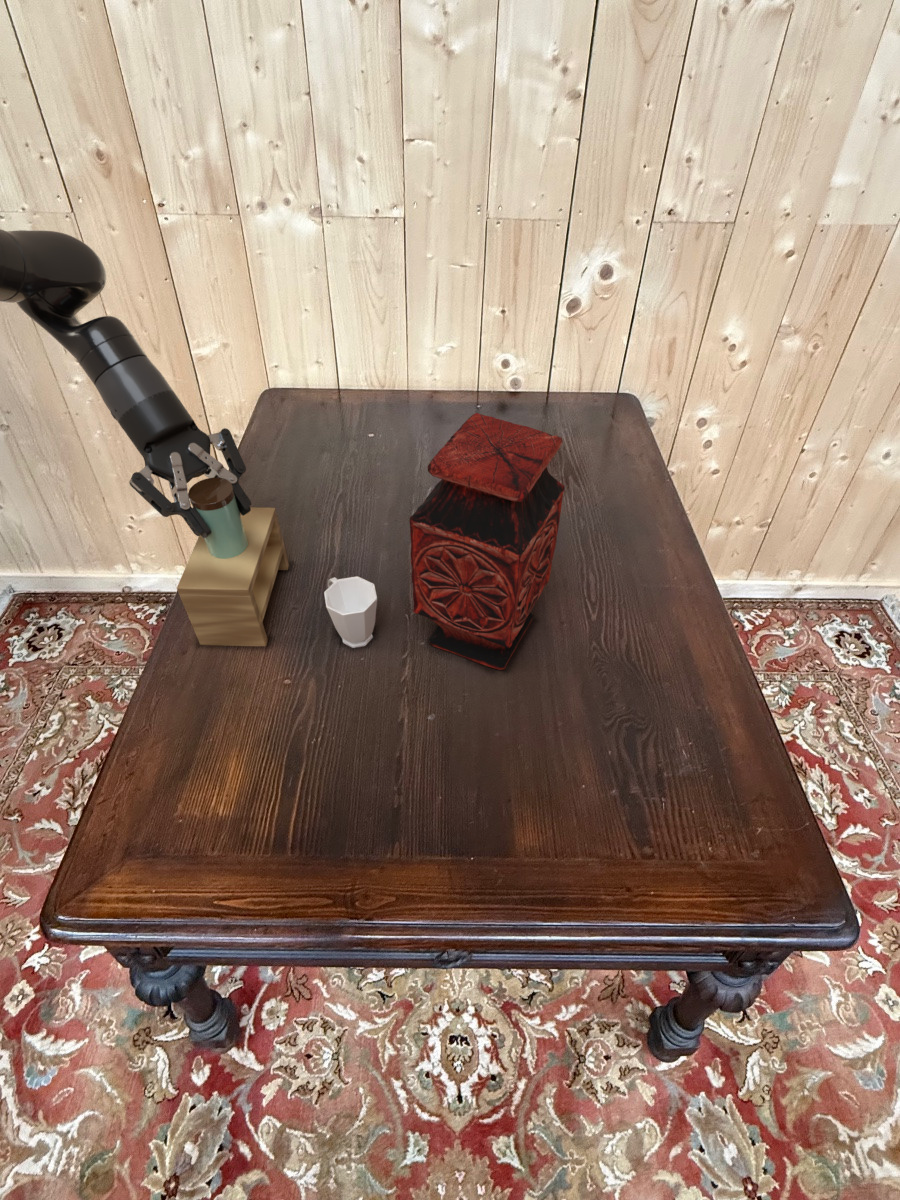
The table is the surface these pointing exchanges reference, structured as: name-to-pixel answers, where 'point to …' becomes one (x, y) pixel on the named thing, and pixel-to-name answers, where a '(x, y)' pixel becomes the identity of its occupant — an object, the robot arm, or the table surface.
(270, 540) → the shelf
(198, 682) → the table surface
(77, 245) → the robot arm
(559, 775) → the table surface
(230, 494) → the jar
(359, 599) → the cup
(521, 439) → the red carved wooden box
